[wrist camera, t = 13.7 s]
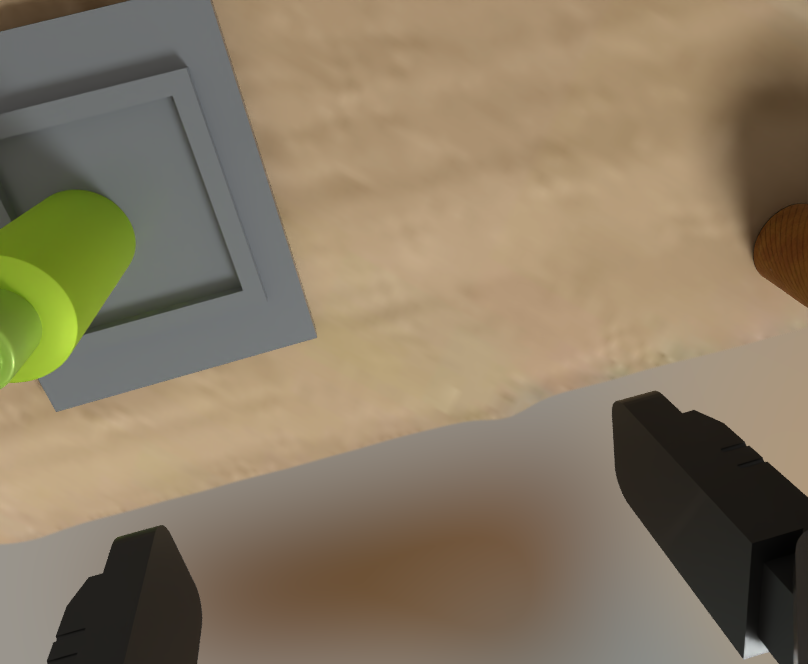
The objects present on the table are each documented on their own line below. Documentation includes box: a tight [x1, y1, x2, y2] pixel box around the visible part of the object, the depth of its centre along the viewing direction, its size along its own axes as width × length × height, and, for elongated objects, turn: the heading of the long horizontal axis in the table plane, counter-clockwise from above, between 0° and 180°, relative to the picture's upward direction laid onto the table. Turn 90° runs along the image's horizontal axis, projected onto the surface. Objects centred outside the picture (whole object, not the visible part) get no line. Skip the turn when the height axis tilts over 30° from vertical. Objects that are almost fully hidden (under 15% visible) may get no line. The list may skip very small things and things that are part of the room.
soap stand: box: [0, 0, 317, 412], centre depth 39 cm, size 22×18×2 cm
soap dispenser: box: [0, 190, 136, 389], centre depth 30 cm, size 6×7×20 cm
